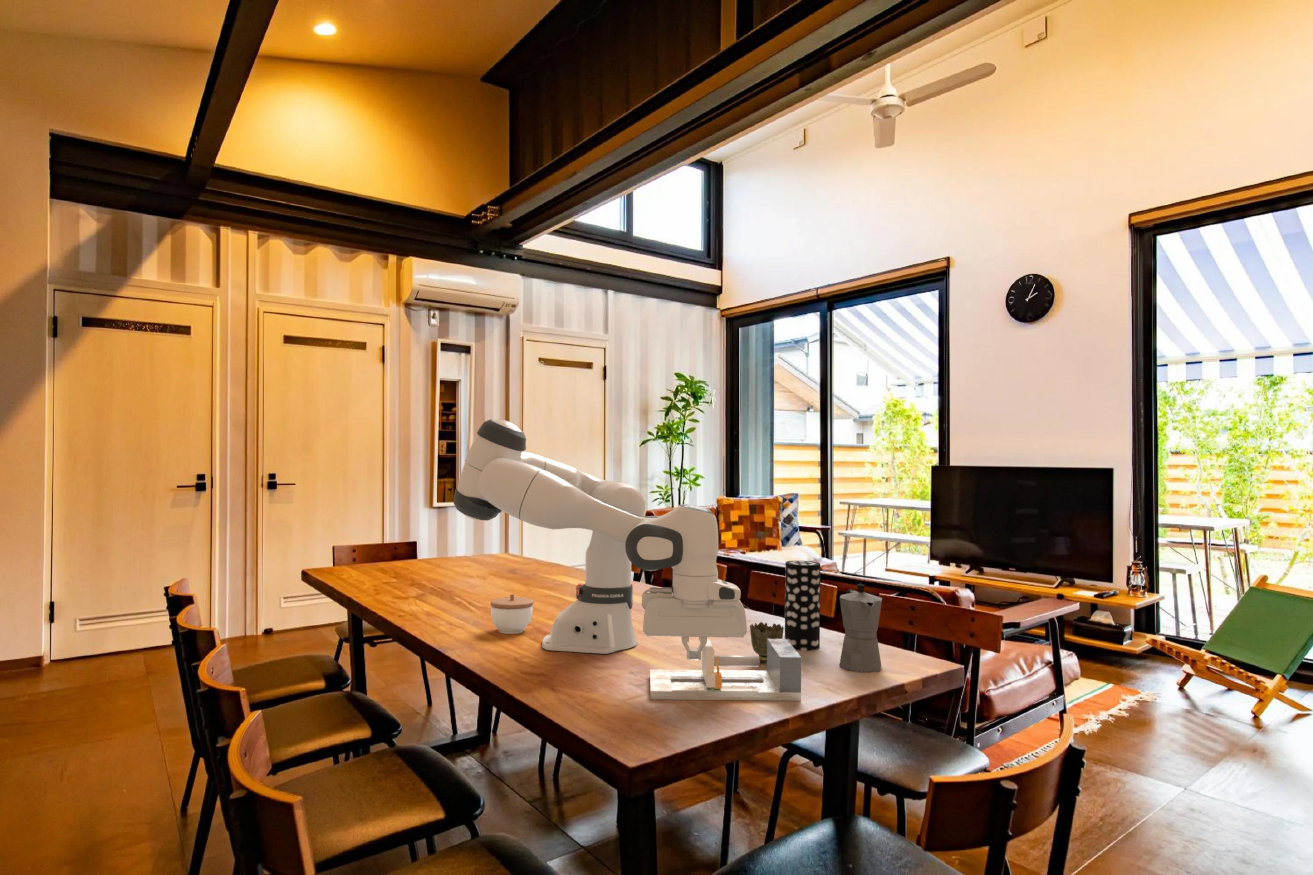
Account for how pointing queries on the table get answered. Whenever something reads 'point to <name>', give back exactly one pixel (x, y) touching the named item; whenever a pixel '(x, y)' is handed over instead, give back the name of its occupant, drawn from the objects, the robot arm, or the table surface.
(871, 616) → the coffeepot
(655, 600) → the robot arm
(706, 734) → the table surface
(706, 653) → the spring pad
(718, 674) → the orange t-shaped block
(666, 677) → the gauge base
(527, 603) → the lidded jar
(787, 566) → the spotted tube
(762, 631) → the cup
